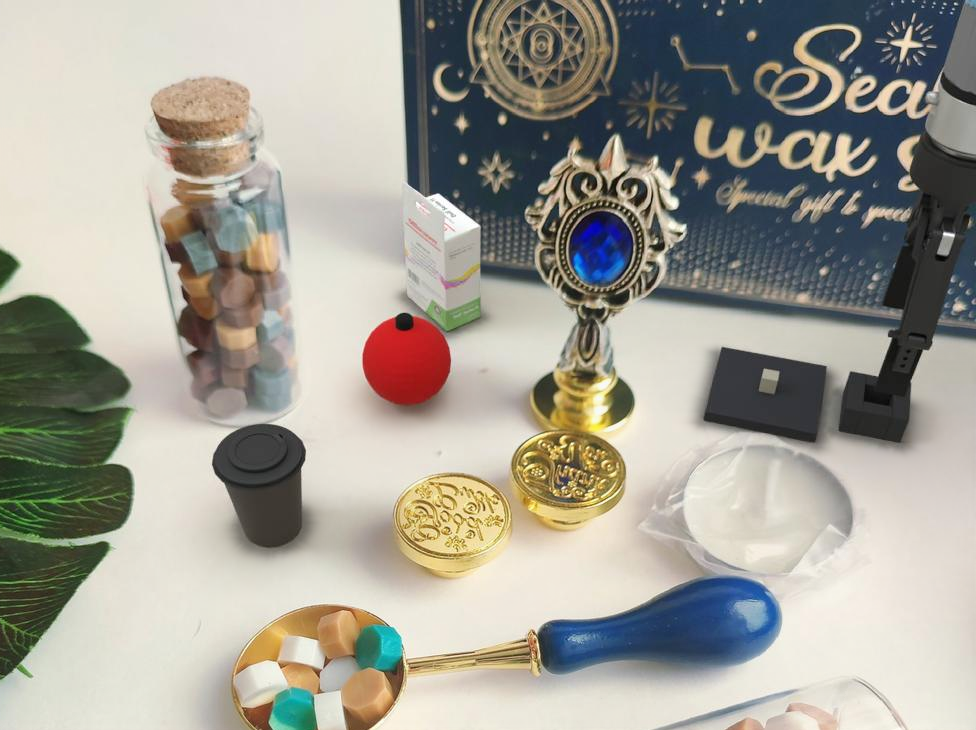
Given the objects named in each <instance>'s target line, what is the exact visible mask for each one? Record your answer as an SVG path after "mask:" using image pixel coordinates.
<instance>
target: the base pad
mask: <svg viewBox="0 0 976 730" xmlns="http://www.w3.org/2000/svg"><path fill="white" fill-rule="evenodd" d="M827 368H828V367H827V365H823V364H818V363H812V362H806V361H801V360H796V359H790V358H784V357H779V356H774V355H768V354H764V353H758V352H753V351H747V350H741V349H736V348H732V347H726V346H721V348H720V352H719V356H718V360H717V364H716V368H715V372H714V375H713V378H712V379H713V380H712V384H711V387H710V390H709V395H708V399H707V402H706V406H705V411H704V415H703V421H705V422H711V423H717V424H719V425H720V424H721V425H725V426H729V427H736V428H740V429H745V430H751V431H755V432H759V433H765V434H769V435H776V436H780V437H786V438H791V439H795V440H800V441H806V442H811V443H815V442H816V438H817V436H818V431H819V429H818V428H819V423H820V416H821V409H822V402H823V395H824V388H825V381H826V374H827Z"/></svg>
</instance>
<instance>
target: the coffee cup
mask: <svg viewBox="0 0 976 730" xmlns="http://www.w3.org/2000/svg"><path fill="white" fill-rule="evenodd" d="M306 455H307V449H306V446H305V445H304V442H303V440H302V439H301V438H300V437H299V436H298V435H297V434H296V433H295V432H294V431H292V430H290V429H288V428H286V427H284V426H281V425H278V424H273V423H256V424H250V425H246V426H243V427H240V428H238V429H235V430H234V431H232V432H231V433H228V434H227V435H226V436H225V437H223V439H222V440H221V441H220V442H219V444H218V445H217V447H216V449H215V451H214V452H213V454H212V461H211V466H212V469H213V471H214V474H215V475H216V477H217V478H218V479H219V480H220V481H221V482H222V483H223V484H224V486H225V489H226V491H227V493H228V496H229V498H230V501H231V503H232V505H233V508H234V511H235V514H236V515H237V518H238V520H239V523H240V526H241V527H242V530H243V533H244V535H245V537H246V538H247V539H248V541H249V542H251V543H253V544H254V545H256V546H259V547H263V548H277V547H281V546H284V545H286V544H288V543H290V542H292V541H293V540H294V539H296V537H297V536H298V535H299V534H300V533H301V530H302V526H303V501H302V500H303V496H302V495H303V488H302V487H303V483H302V467H303V466H304V464H305V462H306Z"/></svg>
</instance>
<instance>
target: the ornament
mask: <svg viewBox="0 0 976 730" xmlns="http://www.w3.org/2000/svg"><path fill="white" fill-rule="evenodd" d="M450 348H451V347H450V346H449V344H448V340H447V339H446V337H445V335H444V334H443V333H442V331H441V330H440V329H439V328H438V327H437V326H436V325H434V324H433V323H432V322H430V321H429V320H427V319H425V318H422V317H419V316H414V315H412V314H411V313H409V312H400V313H398V314H397V315H396V316H394V317H391V318H388V319H386V320H384V321H382V322H381V323H379V325H377V326H376V327H375V328H374V329H373V330H372V331H371V333H369V336H368V338H367V339H366V341H365V343H364V347H363V350H362V357H361V358H362V360H361V362H362V370H363V374H364V376H365V379H366V382H368V385H369V386H370V387H371V389H372V390H373V391H374V392H375V393H376V394H377V395H378V396H379V397H380V398H382V399H383V400H386V401H388V402H389V403H392V404H395V405H400V406H414V405H419V404H422V403H425V402H427V401H428V400H430V399H432V398H433V397H435V396H436V395H437V394H438V393H439V392H441V390H442V388H443V387H444V386H445V384H446V382H447V380H448V378H449V375H450V373H451V367H452V356H451V349H450Z"/></svg>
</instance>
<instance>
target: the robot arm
mask: <svg viewBox="0 0 976 730" xmlns="http://www.w3.org/2000/svg"><path fill="white" fill-rule="evenodd" d="M925 94H926V96H925V98H924V101H925V103H926V105H930V108H929V111H928V114H927V116H926V120H925V125H924V127H925V129H924V130H923V131H922V132H921V134H920V135H919V139H918V142H917V144H916V148H915V151H914V154H913V157H912V159H911V163H910V166H909V170H908V171H909V178H910V180H911V181H912V183H913V184H914V186H915V187H917V189H919V190H920V192H919V194H918V197H917V199H916V201H915V203H914V205H913V207H912V209H911V211H910V214H909V216H908V217H907V219H906V222H905V223H906V228H908V229H907V231H906V232H905V233H904V236H903V240H904V241H903V243H904V244H907V245H901V248H900V250H899V253H898V256H897V258H896V262H895V264H894V268H893V270H892V273H891V277H890V278H889V282H888V285H887V288H886V291H885V293H884V296H883V299H882V301H881V302H882V304H881V305H882V306H881V307H884V308H885V307H886V308H891V309H896V310H902V314H901V318H900V322H899V325H898V328H895V329H889V330H888V333H887V338H889V339H891V340H890V343H889V345H888V348H887V350H886V353H885V355H884V359H883V362H882V364H881V367H880V370H879V372H878V375H877V376H878V378H877V380H876V383H875V386H874V391H876V392H881V393H886V394H891V395H896V396H901V397H905V395H906V392H907V390H908V387H909V385H910V382H911V383H912V379H913V377H914V375H915V372H916V369H917V367H918V364H919V362H920V359H921V357H922V355H923V352H924V351H929V350H930V349H931V347H932V346H933V342H934V340H933V339H934V335H935V332H936V329H937V326H938V323H939V319H940V316H941V313H942V309H943V306H944V304H945V300H946V297H947V293H948V289H949V287H950V283H951V280H952V277H953V274H954V270H955V266H956V263H957V260H958V258H959V256H960V253H961V251H962V247H963V245H964V244H965V243H966V238H967V237H966V232H967V230H968V228H969V224H970V221H971V213H968V210H969V207H970V206H973V205H975V204H976V0H964V2H963V5H962V9H961V12H960V15H959V18H958V21H957V25H956V27H955V29H954V33H953V37H952V40H951V43H950V46H949V48H948V52H947V55H946V59H945V62H944V65H943V67H942V72H941V75H940V78H939V82H938V84H937V91H933V90H931V91H928V92H927V93H925Z"/></svg>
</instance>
